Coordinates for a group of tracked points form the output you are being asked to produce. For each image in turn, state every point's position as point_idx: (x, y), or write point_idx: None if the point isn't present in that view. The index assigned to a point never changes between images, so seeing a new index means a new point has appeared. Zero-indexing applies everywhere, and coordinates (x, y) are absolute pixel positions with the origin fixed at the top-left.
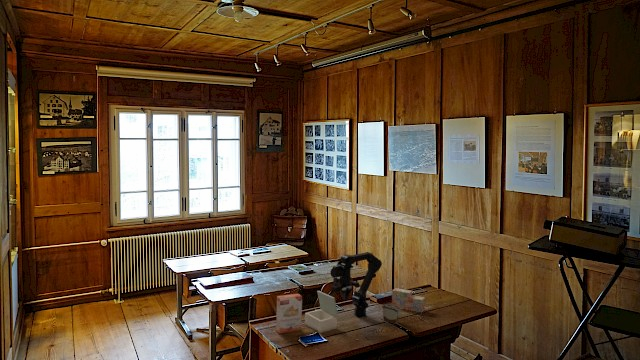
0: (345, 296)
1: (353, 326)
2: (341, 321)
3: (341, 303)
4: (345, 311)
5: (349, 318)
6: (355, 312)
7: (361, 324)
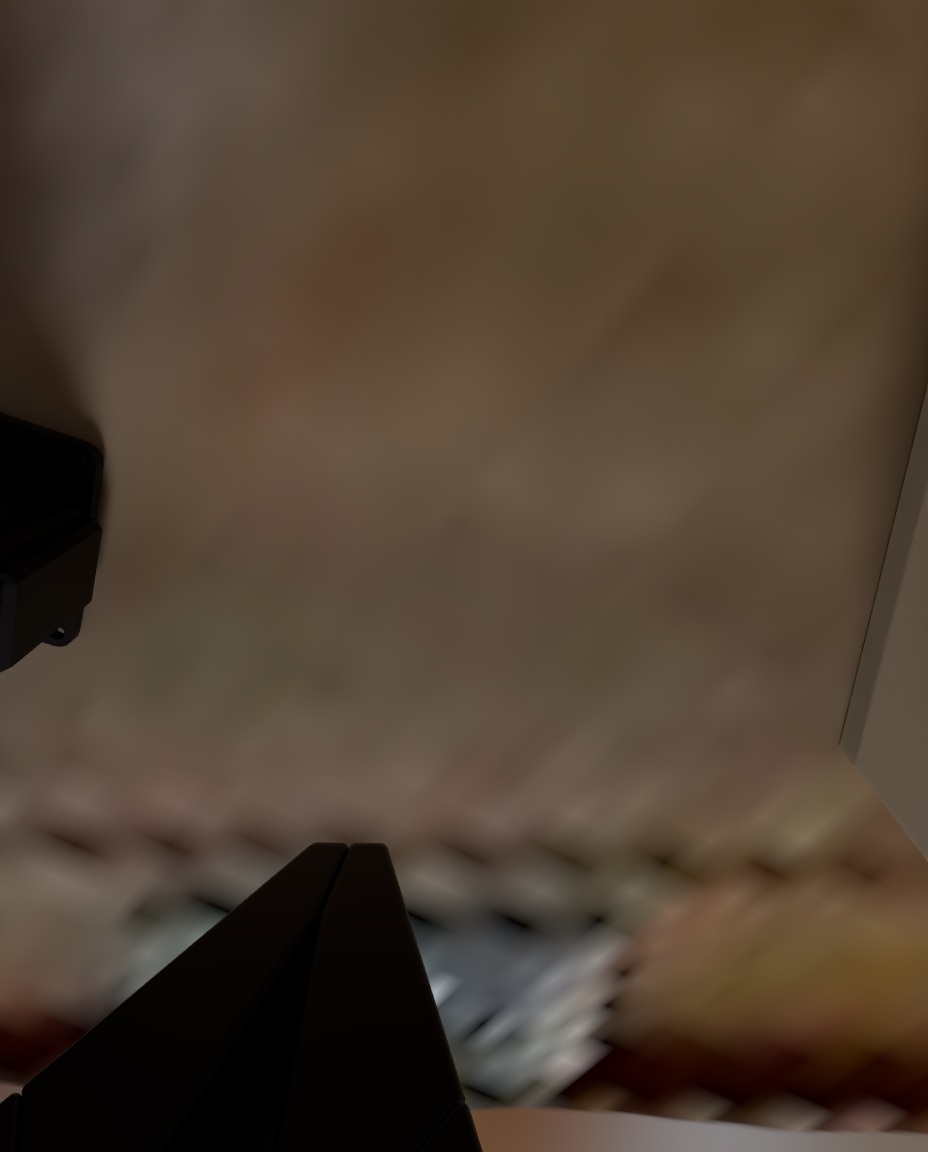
0: (440, 1025)
1: (516, 31)
2: (549, 484)
3: None
4: (161, 825)
5: (288, 526)
6: (60, 574)
7: (236, 23)
